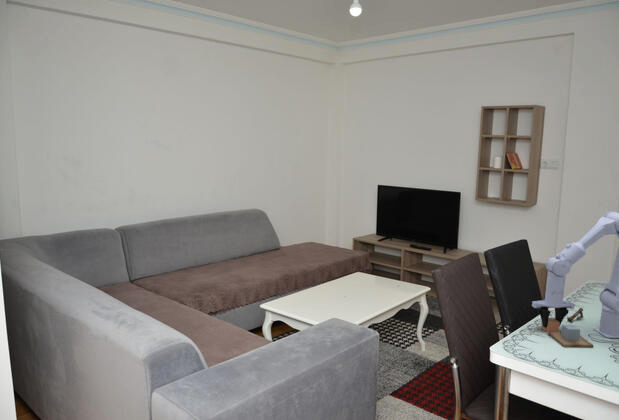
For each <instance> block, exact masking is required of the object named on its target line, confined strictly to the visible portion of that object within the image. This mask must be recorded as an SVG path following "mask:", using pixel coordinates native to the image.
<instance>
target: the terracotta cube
mask: <svg viewBox="0 0 619 420" xmlns="http://www.w3.org/2000/svg"><path fill="white" fill-rule="evenodd" d="M559 326H560V327H561V325H560V322H559V321H557V320H556V319H555V317H549V318H548V325H547V328H545V327H543V326H542V325H541V329H542V330H544V331H545V332H546V333H548V332H560V327H559Z"/></svg>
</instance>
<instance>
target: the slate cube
mask: <svg viewBox="0 0 619 420" xmlns="http://www.w3.org/2000/svg"><path fill="white" fill-rule="evenodd" d="M560 332H561V336H562V337H564V338H565V339H566V340H573V341H579V336H581V329H580V328H579V327H578V326H576V325H575V324H561V331H560Z"/></svg>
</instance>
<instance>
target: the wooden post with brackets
mask: <svg viewBox="0 0 619 420" xmlns="http://www.w3.org/2000/svg"><path fill="white" fill-rule="evenodd" d="M583 311H584V308H583V307H579V308H578V310H577V311H575V312H574V313H573V315H572V316H569V317H566V319H567V322H570V323H572V324H573V321H574V319H575V321H580V320H581V319H584V314H583Z"/></svg>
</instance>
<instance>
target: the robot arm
mask: <svg viewBox="0 0 619 420" xmlns="http://www.w3.org/2000/svg"><path fill="white" fill-rule="evenodd" d="M608 235H616V237H617V238H618V239H619V212H616V211H614V210H613V211H608V212H606V213H605V214H604V215H603V216H602V217H600V218H599V219H598V221H597V222H596V224H595V225H594V226H593V227H592V228H591V229H590V230H589V231H588V232H587V233H585V234H584V236H582V237H581V238H580V239H579V240H578V241H577V242H571V243H567V244H566V245H565V248H564V249H562V251H560V252H559V253H556V254H555V256H553V257H550V258H549V259H547V262H546V263H545V268H546V270H547V277H546V285H545V286H546V287H545V297H544V299H542V300H533V301H531V303H532V304H531V307H533V309H537V310H538V312H539V316H540V319H541V327H542V326H543V327H545V328H547V325H548V318H550V315H551V312H552V311H550V310H549V308H550V309H551V308H552V309H554V319H556V320H557V321H559V322H560V326H559V328H561V326H562V323H563V320H564V319H565V318H566V316H567V315H568V314H569V311H570V310H569V309H571V310H575V305H576V304H575V303H574V302H572V301H566V300H565V301H564V294H565V293H564V292H565V287H566V286H565V285H566V277H567V275H568V274H569V273H571V268H572V267H573V266H574V265H575V264H576V263H577V262H579V260H580V259H581V258H583V257H584V256H585V255H586V249H588V248H589V247H590V246H593V244H595V243H596V242H597V241H599V240H600V239H601V238H603V237H604V236H608ZM609 280H610V281H609V282H607V283H606V284H605V285H604V288H603V290H601V292H600V293H599V296H598V297H599V298H598V299H599V301H600V303H601V313H600V319H599V327H593V330H594V331H596V332H597V333H599V334H600V335H601V336H604V337H605V338H608V339H619V246H618V247H617V252H616V255H615V259H614V264H613V267H612V271H611V276H610V279H609Z"/></svg>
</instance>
